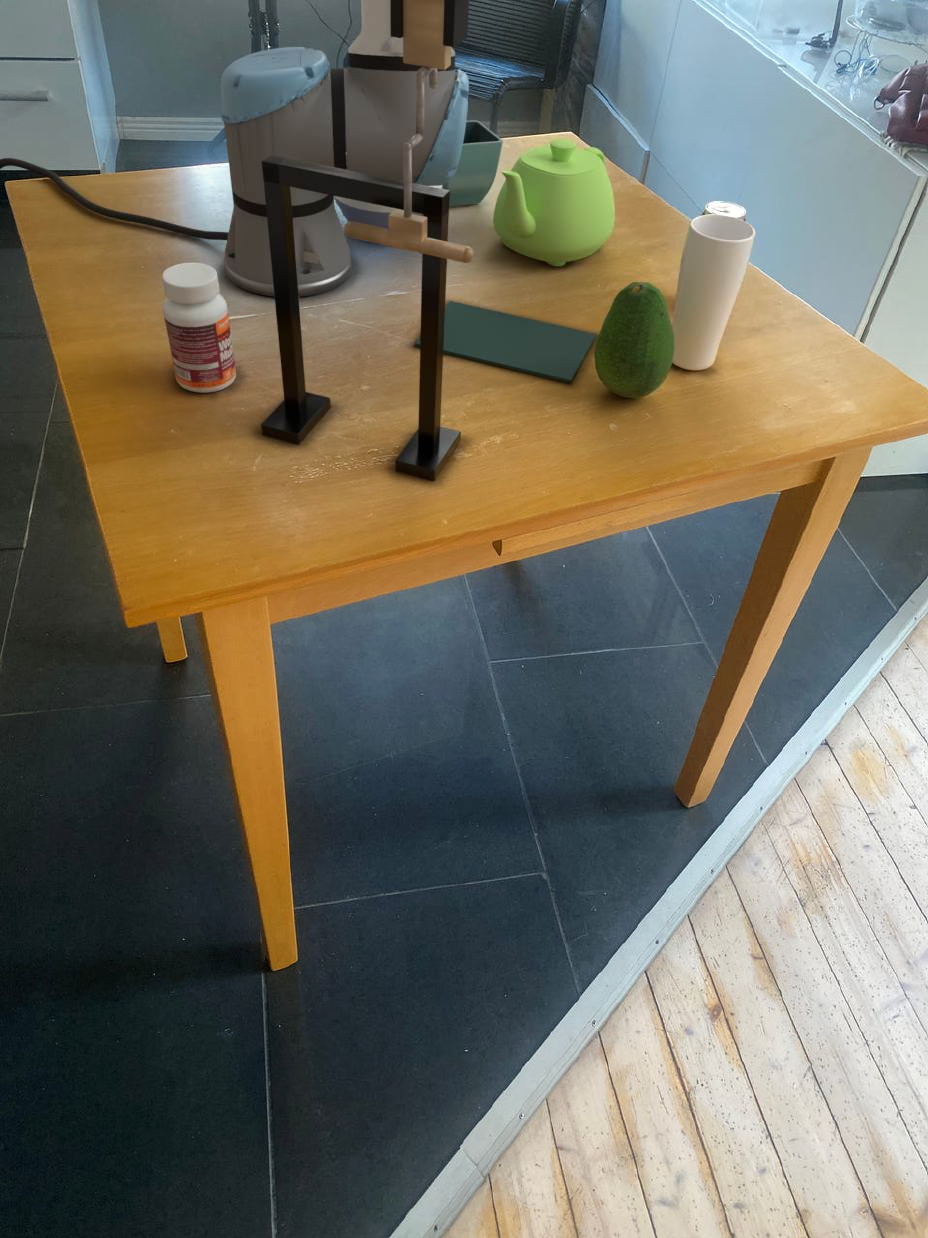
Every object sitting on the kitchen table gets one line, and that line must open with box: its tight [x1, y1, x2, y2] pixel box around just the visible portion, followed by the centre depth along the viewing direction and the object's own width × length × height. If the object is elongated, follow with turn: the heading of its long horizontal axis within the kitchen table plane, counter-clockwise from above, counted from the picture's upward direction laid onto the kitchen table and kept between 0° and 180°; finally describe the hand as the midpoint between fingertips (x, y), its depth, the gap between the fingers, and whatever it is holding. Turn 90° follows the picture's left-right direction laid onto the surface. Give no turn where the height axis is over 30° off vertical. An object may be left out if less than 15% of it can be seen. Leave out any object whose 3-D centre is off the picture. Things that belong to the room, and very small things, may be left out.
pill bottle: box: [161, 262, 237, 394], centre depth 94 cm, size 6×6×11 cm
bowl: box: [334, 159, 442, 229], centre depth 124 cm, size 14×14×8 cm
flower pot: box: [442, 119, 504, 207], centre depth 131 cm, size 9×9×9 cm
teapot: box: [492, 138, 616, 267], centre depth 120 cm, size 22×15×13 cm
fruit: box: [593, 281, 675, 400], centre depth 96 cm, size 8×8×12 cm
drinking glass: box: [671, 214, 756, 371], centre depth 101 cm, size 7×7×15 cm
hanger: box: [343, 0, 475, 264], centre depth 68 cm, size 11×6×20 cm, turn 69°
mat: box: [414, 300, 598, 384], centre depth 107 cm, size 18×11×1 cm, turn 70°
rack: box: [260, 155, 462, 482], centre depth 84 cm, size 18×7×25 cm, turn 70°
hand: (429, 36), depth 66 cm, fingers closed on hanger, 3 cm apart
